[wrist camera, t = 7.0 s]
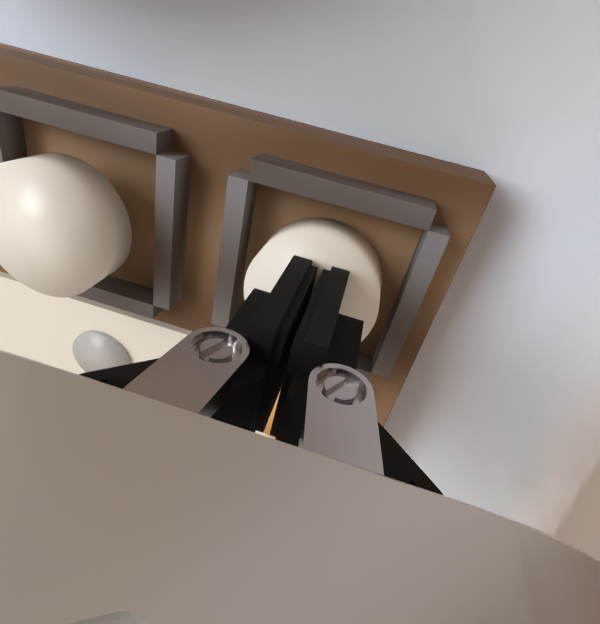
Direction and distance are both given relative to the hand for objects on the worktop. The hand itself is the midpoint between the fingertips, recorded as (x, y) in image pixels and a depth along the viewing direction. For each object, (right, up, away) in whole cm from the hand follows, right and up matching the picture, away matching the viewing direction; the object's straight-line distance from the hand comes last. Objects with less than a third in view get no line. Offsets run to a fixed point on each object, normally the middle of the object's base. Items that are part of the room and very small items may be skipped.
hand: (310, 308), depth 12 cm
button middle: (-8, +3, +1) cm, 8 cm away
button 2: (0, +1, +1) cm, 2 cm away
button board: (-7, +2, +5) cm, 9 cm away
